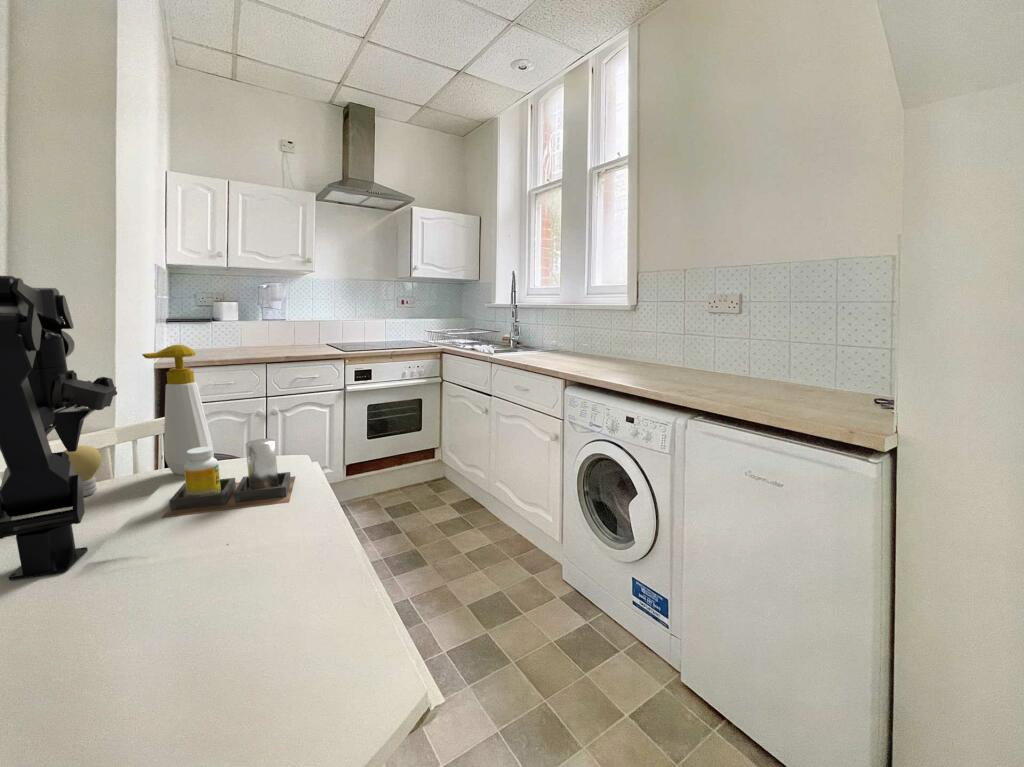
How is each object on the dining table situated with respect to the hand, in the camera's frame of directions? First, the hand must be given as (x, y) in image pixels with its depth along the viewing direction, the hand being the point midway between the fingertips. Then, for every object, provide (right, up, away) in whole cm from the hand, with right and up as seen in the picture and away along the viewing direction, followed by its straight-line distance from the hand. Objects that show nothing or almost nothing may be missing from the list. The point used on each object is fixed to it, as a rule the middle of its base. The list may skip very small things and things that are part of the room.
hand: (57, 459), depth 78 cm
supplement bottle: (+18, -9, +10) cm, 23 cm away
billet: (+27, -9, +14) cm, 32 cm away
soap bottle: (+4, -8, +25) cm, 27 cm away
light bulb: (-9, -10, +15) cm, 21 cm away
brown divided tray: (+23, -10, +12) cm, 28 cm away
